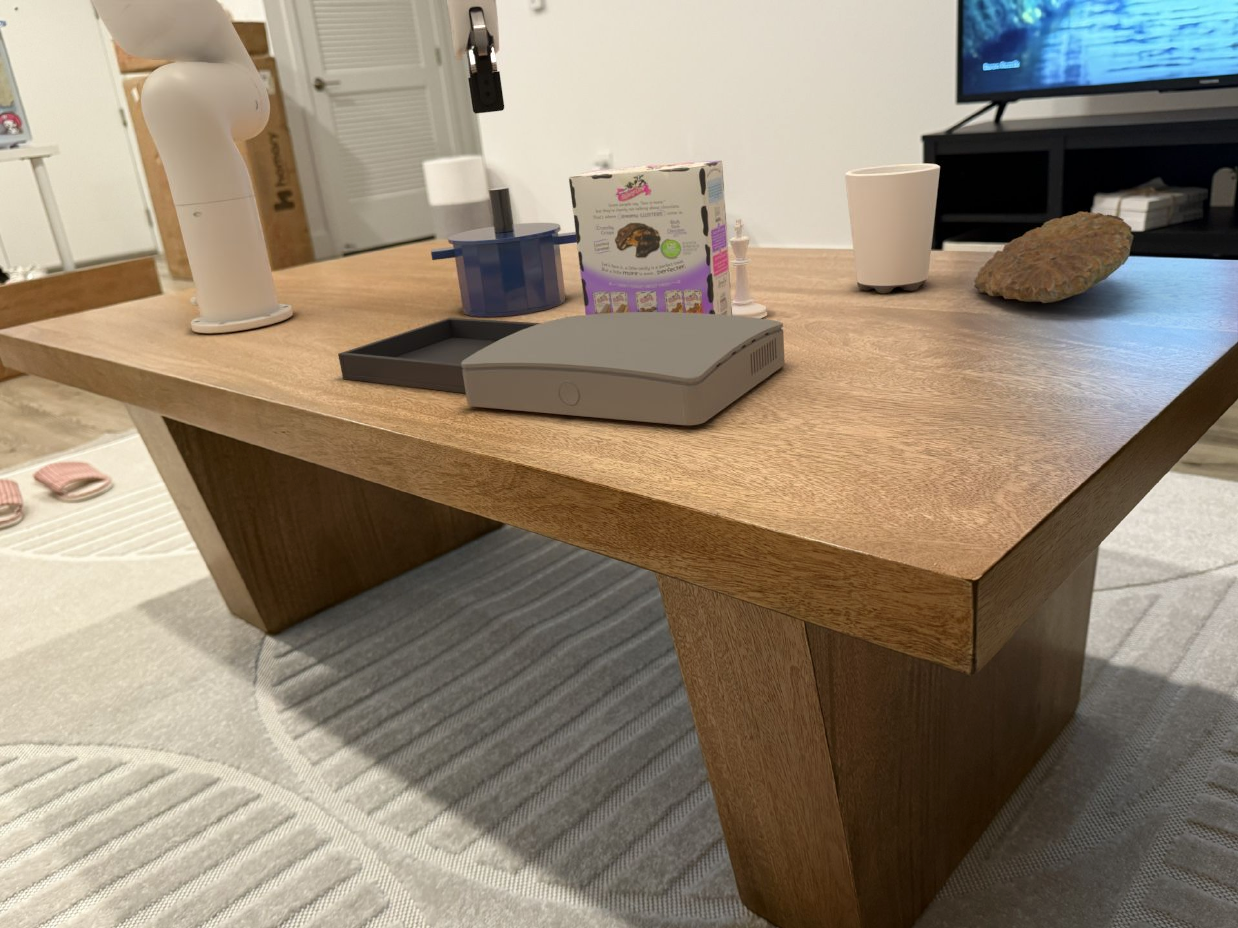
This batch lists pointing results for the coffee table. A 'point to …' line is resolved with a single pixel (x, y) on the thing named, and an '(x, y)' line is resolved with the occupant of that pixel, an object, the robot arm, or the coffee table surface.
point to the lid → (503, 225)
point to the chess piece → (743, 279)
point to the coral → (1058, 258)
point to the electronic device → (627, 366)
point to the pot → (509, 275)
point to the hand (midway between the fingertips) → (488, 112)
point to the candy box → (653, 239)
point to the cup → (892, 224)
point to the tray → (426, 353)
